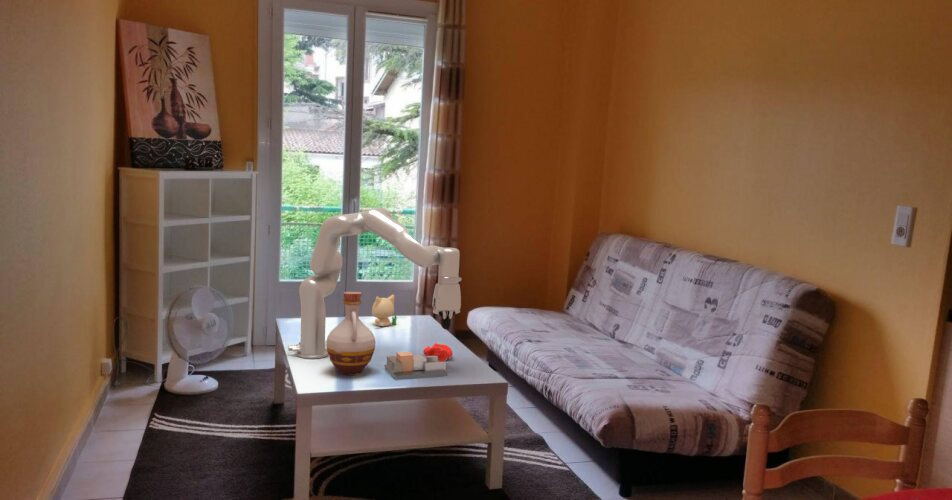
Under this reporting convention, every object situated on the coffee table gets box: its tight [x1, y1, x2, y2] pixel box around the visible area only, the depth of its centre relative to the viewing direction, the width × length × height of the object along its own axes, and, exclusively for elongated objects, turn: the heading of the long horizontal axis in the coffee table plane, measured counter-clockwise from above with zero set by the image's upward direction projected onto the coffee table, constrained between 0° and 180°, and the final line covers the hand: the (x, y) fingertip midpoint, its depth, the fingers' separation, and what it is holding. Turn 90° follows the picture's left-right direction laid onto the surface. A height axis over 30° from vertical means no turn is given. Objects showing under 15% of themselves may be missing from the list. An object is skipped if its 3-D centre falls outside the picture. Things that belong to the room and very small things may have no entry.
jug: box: [325, 291, 376, 376], centre depth 260 cm, size 20×18×30 cm
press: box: [384, 355, 448, 381], centre depth 266 cm, size 20×14×6 cm
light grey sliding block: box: [413, 354, 427, 370], centre depth 266 cm, size 5×6×4 cm
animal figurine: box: [423, 342, 454, 362], centre depth 289 cm, size 12×15×5 cm
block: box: [395, 351, 415, 372], centre depth 264 cm, size 5×5×6 cm
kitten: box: [371, 294, 397, 327], centre depth 338 cm, size 15×10×15 cm
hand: (445, 328), depth 269 cm, fingers closed
